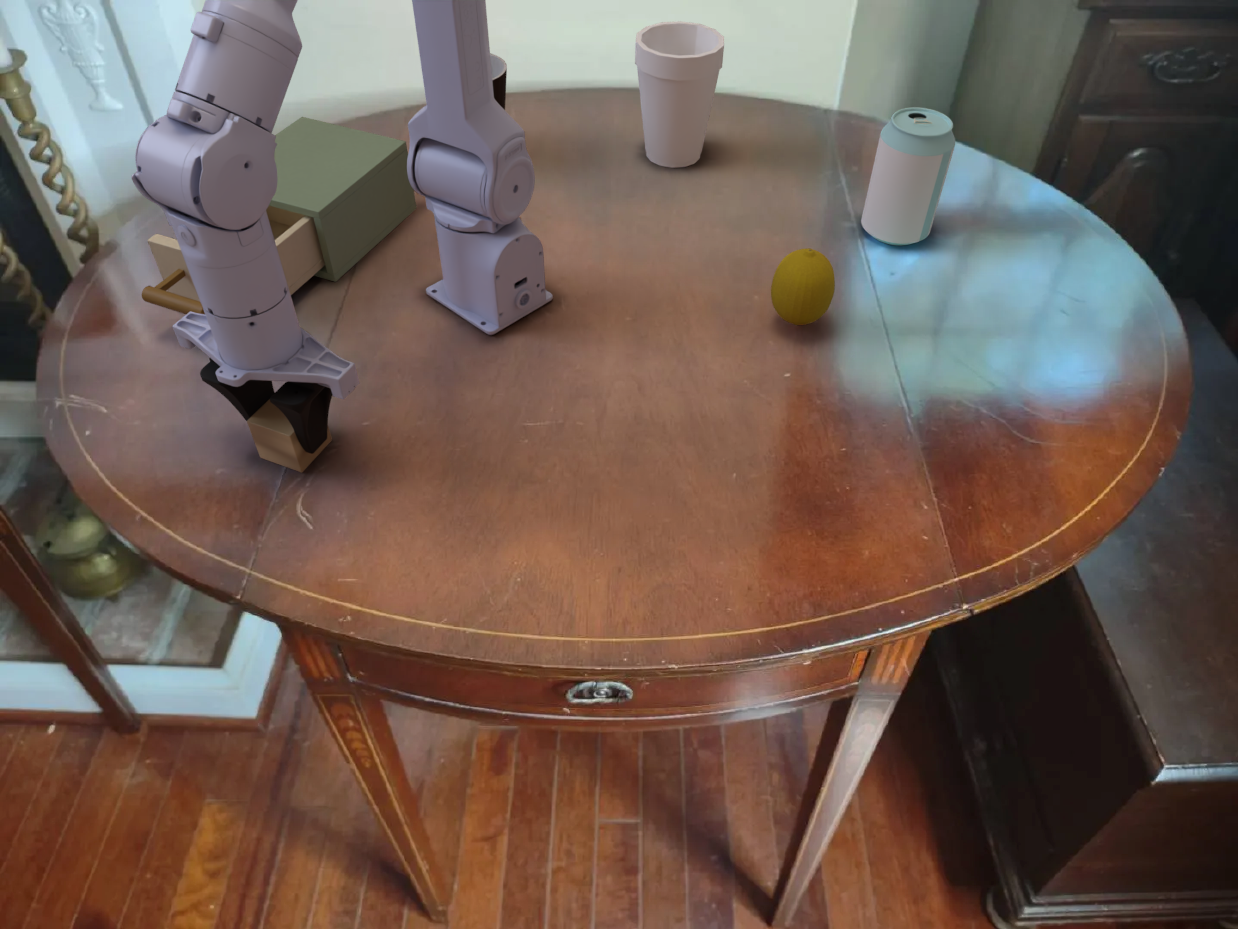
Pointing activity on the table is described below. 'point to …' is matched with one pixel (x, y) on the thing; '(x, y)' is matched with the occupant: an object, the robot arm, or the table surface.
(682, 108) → the foam cup
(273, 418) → the block
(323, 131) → the cabinet
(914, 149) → the can
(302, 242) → the drawer
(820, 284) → the lemon
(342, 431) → the table surface
